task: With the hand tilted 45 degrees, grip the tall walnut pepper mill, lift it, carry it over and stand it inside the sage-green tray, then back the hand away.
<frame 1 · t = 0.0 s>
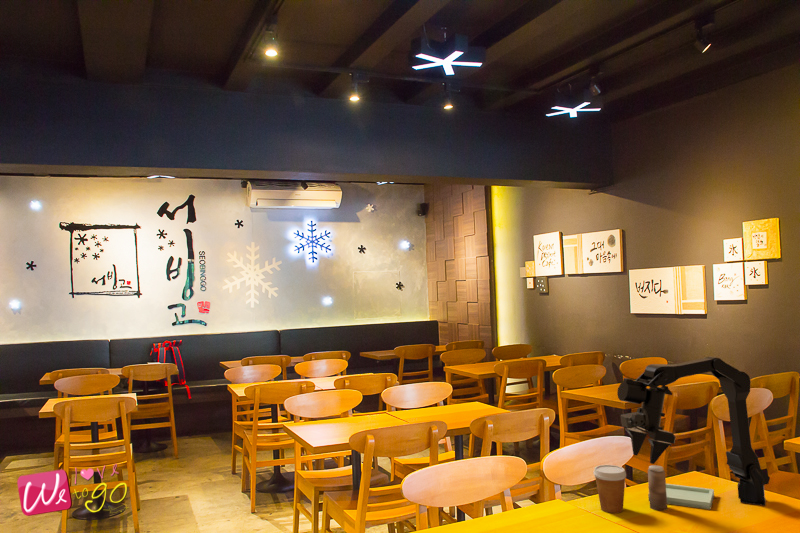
hand: (643, 459, 175), 15 cm above the table, tool pointing down, fingers open, 9 cm apart
tray: (681, 498, 184), on the table
disposable coffee cup: (612, 510, 178), on the table
pepper mill: (658, 507, 178), on the table
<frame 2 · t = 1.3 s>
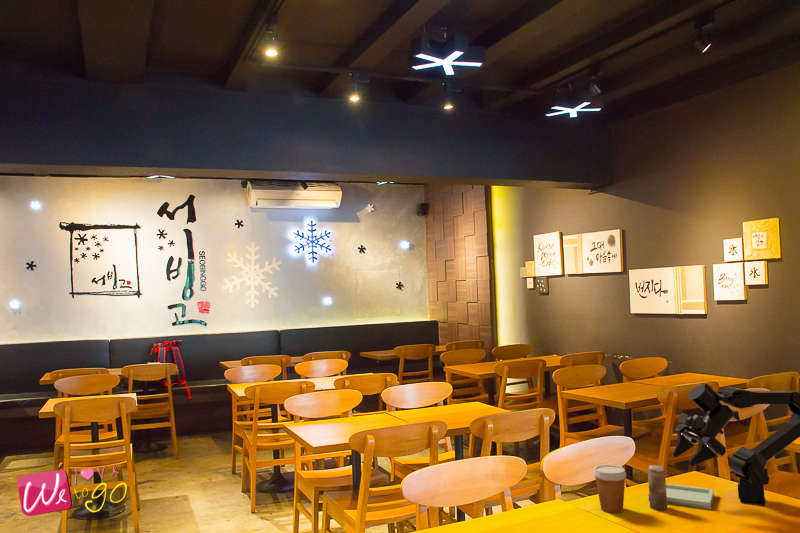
hand: (681, 460, 179), 14 cm above the table, tool tilted 45°, fingers open, 9 cm apart
nothing on the table moved.
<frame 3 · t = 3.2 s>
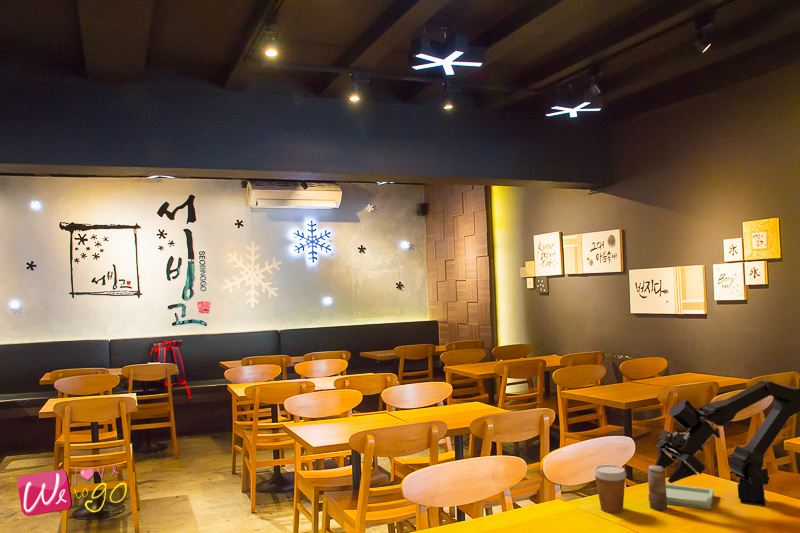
hand: (661, 477, 178), 9 cm above the table, tool tilted 45°, fingers open, 9 cm apart
nothing on the table moved.
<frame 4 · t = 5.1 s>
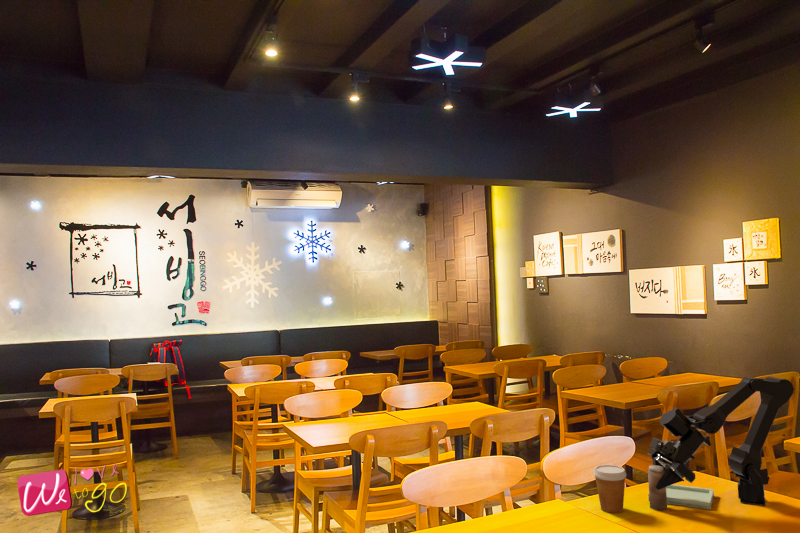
hand: (652, 485, 178), 7 cm above the table, tool tilted 45°, fingers closed on pepper mill, 5 cm apart
pepper mill: (658, 507, 178), on the table, touching gripper
everything else where it was.
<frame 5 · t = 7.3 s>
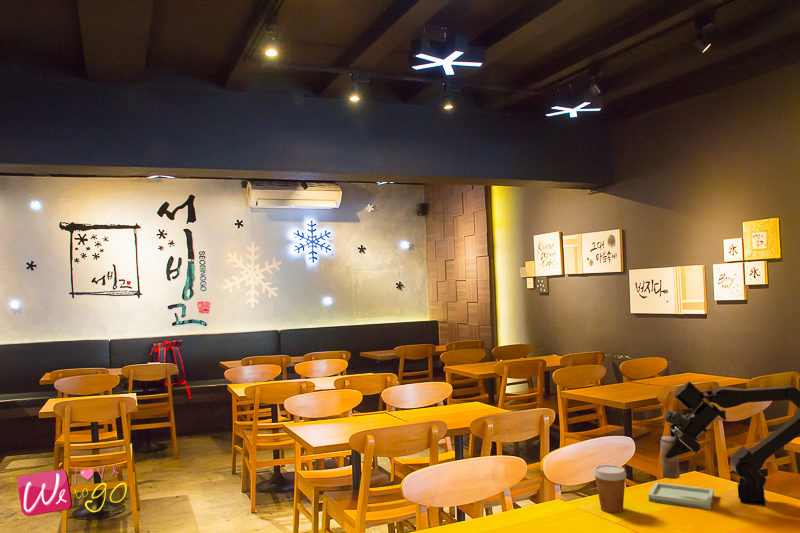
hand: (664, 455, 186), 13 cm above the table, tool tilted 45°, fingers closed on pepper mill, 5 cm apart
pepper mill: (671, 476, 185), point 7 cm above the table, touching gripper
everything else where it was.
when the fingers open (8 cm above the table, at t = 9.5 s): pepper mill stays where it is, resting on tray.
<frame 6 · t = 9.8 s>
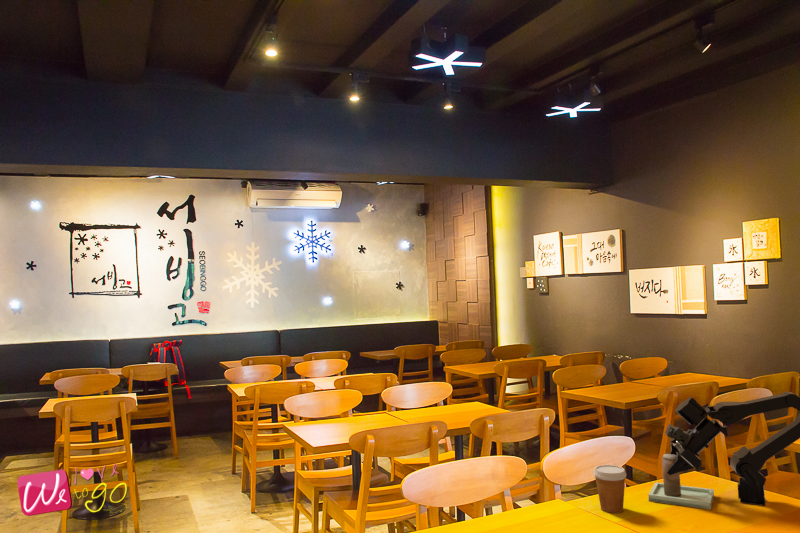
hand: (666, 470, 186), 9 cm above the table, tool tilted 45°, fingers open, 7 cm apart
pepper mill: (672, 494, 185), point 1 cm above the table, touching tray
everything else where it was.
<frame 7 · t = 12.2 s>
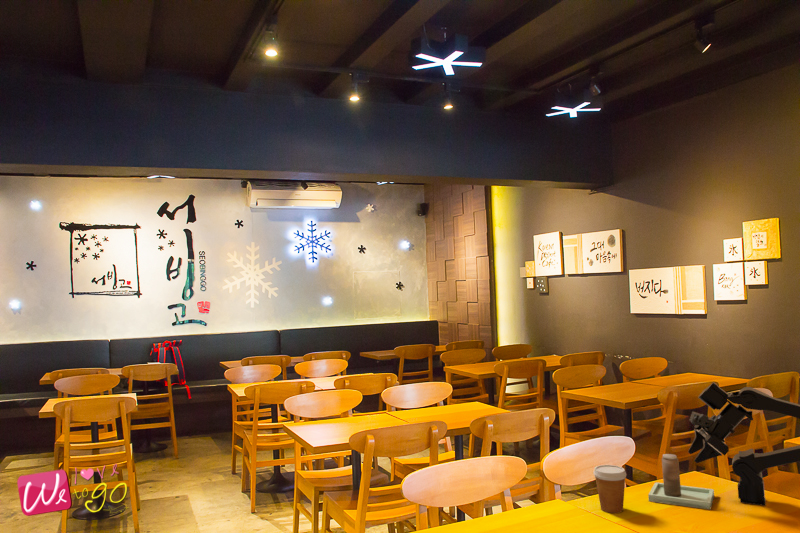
hand: (692, 457, 185), 12 cm above the table, tool tilted 40°, fingers open, 9 cm apart
nothing on the table moved.
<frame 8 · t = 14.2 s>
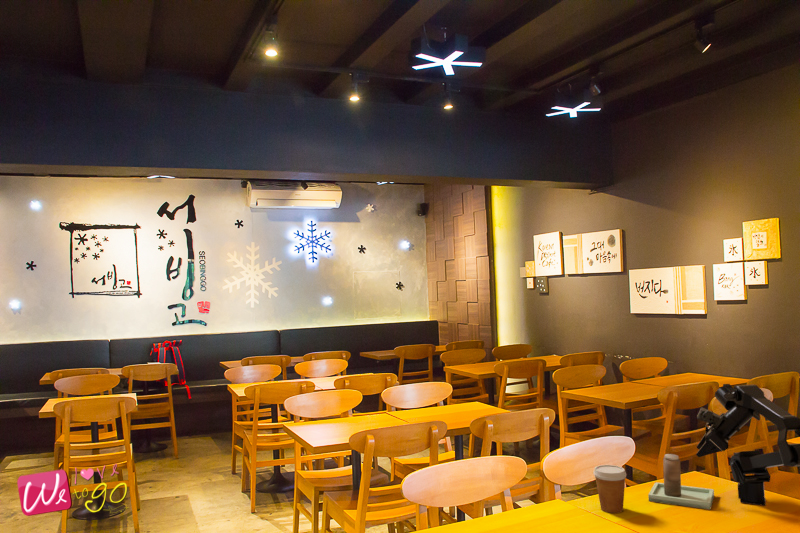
hand: (697, 452, 188), 13 cm above the table, tool tilted 45°, fingers open, 9 cm apart
nothing on the table moved.
at the end: pepper mill inside the target area on the tray (2.5 cm from its centre), point 1.1 cm above the tray's base; pepper mill tilted 2°; the gripper is holding nothing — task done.
